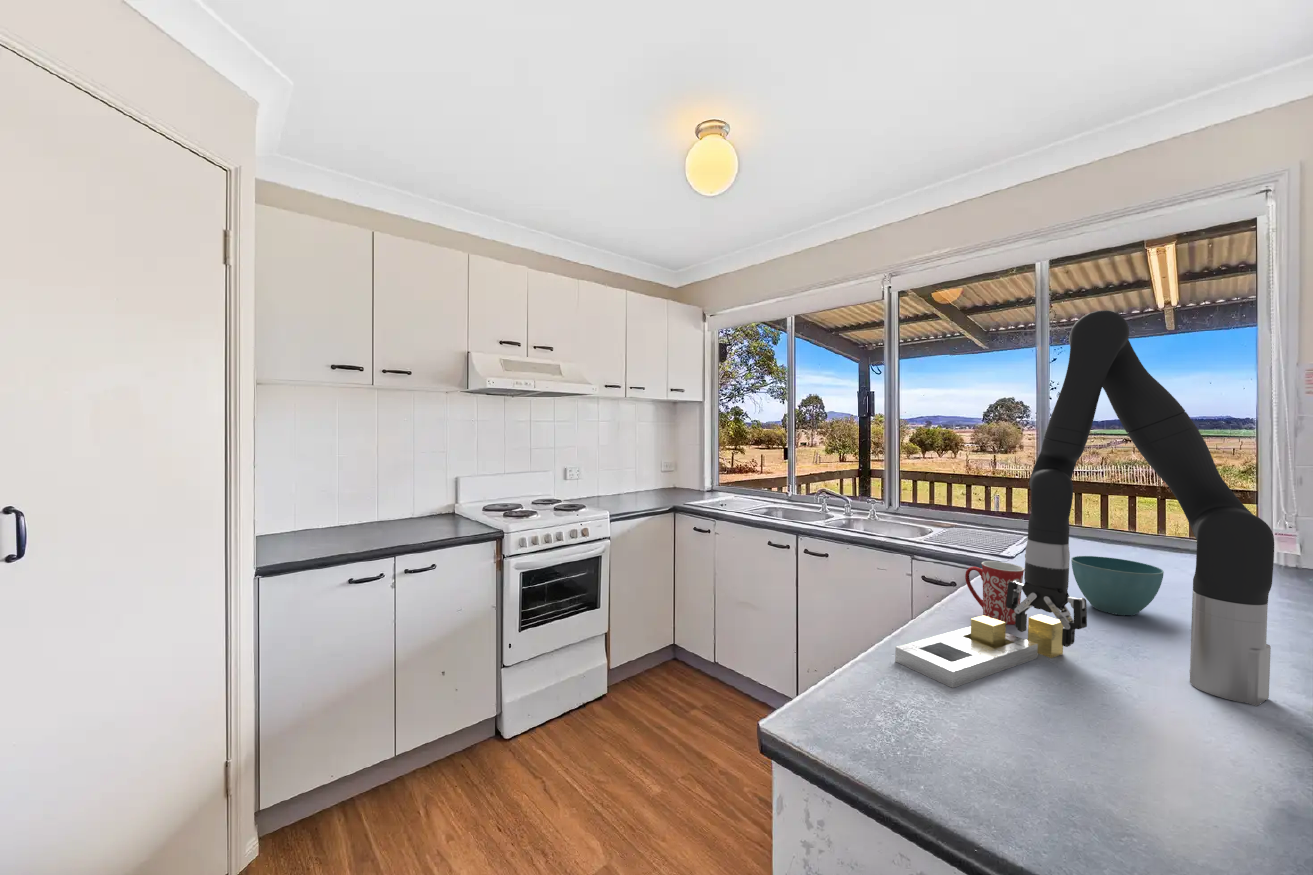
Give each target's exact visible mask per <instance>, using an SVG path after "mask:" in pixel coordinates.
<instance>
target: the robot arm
mask: <svg viewBox="0 0 1313 875" xmlns="http://www.w3.org/2000/svg"><path fill="white" fill-rule="evenodd" d="M1129 336H1130V327H1129V324H1128V321H1127V320H1126V319H1125V317H1123V316H1122V315H1121V314H1119V313H1117V312H1115V311H1112V310H1095V311H1091V312H1089V313H1087V314H1085V315H1083V316H1082V317H1081V318H1079V319H1078V320H1077V321H1076V322H1075V323H1074V324H1073V326H1072V327H1071V330H1070V332H1069V338H1068V340H1069V347H1070V348H1069V349H1070V350H1069V358H1068V363H1067V369H1066V374H1065V376H1064V380H1063V383H1062V387H1061V390H1060V392H1059V395H1058V398H1057V400H1056V403H1055V405H1054V408H1053V410H1052V413H1051V416H1050V418H1049V421H1048V425H1047V427H1046V431H1045V434H1044V436H1043V439H1042V444H1041V450H1040V453H1039V455H1038V457H1037V459H1036V462H1035V463H1034V465H1033V469H1032V472H1031V475H1030V477H1029V482H1028V483H1029V484H1028V485H1029V488H1030V494H1031V496H1030V497H1031V498H1030V500H1031V501H1030V506H1031V507H1030V509H1031V510H1030V515H1029V518H1028V522H1027V523H1028V524H1027V526H1028V527H1027V540H1026V541H1027V542H1026V545H1025V553H1024V559H1025V560H1024V569H1025V570H1024V574H1023V580H1024V584H1023V583H1022V584H1021V583H1020V582H1019V581H1012V582H1009V583H1008V590H1007V599H1006V607H1007V608H1011V609H1012V610H1014V611H1015V613H1016V617H1015V624H1014V625H1015V628H1016V629H1017V631H1018V632H1021V633H1023V632H1026V631H1027V627H1028V622H1027V621H1028V613H1026V612H1027V611H1028V610H1030V608H1032V607H1033V609H1037V610H1042V611H1044V612H1046V613H1048V614H1051V613H1053V615H1054V616H1055V619H1058V620H1060V622H1061V623H1062V625H1063V626H1064V628H1063V631H1062V646H1063V647H1065V648H1068V647H1070V646H1072V645H1074V644H1075V641H1076V640H1075V637H1076V630H1081V629H1084V628H1087V627H1088V611H1087V606H1088V605H1087V604H1088V603H1087V599H1086V597H1080V598H1079V597H1078V598H1077V597H1073V596H1070V594H1069V592H1068V590H1069V582H1070V581H1069V578H1070V557H1071V556H1070V554H1071V552H1070V544H1069V542H1070V516H1071V511H1072V505H1073V499H1074V484H1073V481H1072V478H1073V474H1074V470H1075V468H1076V466H1077V465H1076V464H1077V462H1078V461H1079V459H1080V458H1081V457H1082V455H1083V453H1084V451H1085V447H1086V446H1087V443H1088V442H1087V441H1088V439H1089V436H1090V432H1091V429H1092V427H1093V423H1094V418H1095V414H1096V412H1097V406H1098V403H1099V398H1100V395H1101V392H1102V389H1103V390H1104V393H1105V394H1106V396H1107V399H1108V401H1109V403H1110V404H1111V407H1112V409H1113V410H1114V413H1115V415H1116V416H1117V418H1118V420H1119V422H1120V423H1121V425H1122V427H1123V429H1124V431H1125V432H1126V434H1127V436H1128V437H1129V438H1130V440H1131V442H1132V443H1133V445H1134V446H1135V448H1136V449H1137V450H1138V452H1139V453H1140V454H1141V456H1142V457H1143V458H1144V459H1145V461H1146V462H1147V464H1148V465H1149V467H1151V468H1152V470H1153V471H1154V472H1155V473H1156V474H1157V475H1158V477H1159V478H1160V479H1161V480H1162V481H1163V483H1165V484H1166V485H1167V487H1168V488H1169V490H1170V491H1171V493H1172V494H1173V495H1174V497H1175V498H1176V500H1177V501H1178V504H1179V506H1180V508H1181V509H1182V512H1183V513H1184V516H1185V517H1186V519H1187V521H1188V524H1189V526H1190V528H1191V530H1192V533H1193V536H1194V538H1195V540H1196V556H1195V557H1196V558H1195V559H1196V560H1195V570H1194V576H1193V578H1192V598H1191V599H1192V603H1191V631H1190V634H1191V635H1190V657H1189V658H1190V659H1189V661H1190V662H1189V683H1190V684H1191V685H1192V686H1193V687H1194V688H1196V689H1198V690H1199V691H1202V692H1204V693H1206V694H1209V695H1212V696H1216V697H1218V698H1222V699H1225V700H1230V701H1234V702H1238V703H1244V702H1246V704H1248V703H1249V705H1253V706H1255V707H1258V706H1259V704H1260V703H1261V704H1263V703H1264V702H1266V701H1267V700H1269V699H1270V679H1271V677H1270V676H1271V675H1270V674H1271V652H1272V651H1271V649H1272V646H1271V645H1270V644H1269V643H1267V640H1268V639H1267V638H1268V637H1267V633H1268V630H1267V629H1268V609H1269V608H1268V607H1269V605H1268V604H1269V595H1270V591H1271V590H1272V586H1273V578H1274V576H1273V575H1274V560H1275V536H1274V533H1273V531H1272V528H1271V527H1270V526H1269V525H1268V523H1267V522H1266V521H1264V520H1263V519H1262V518H1261V517H1259V516H1257V515H1255V514H1254V513H1252V511H1250V510H1249V509H1248V508H1247V507H1246V505H1244V504H1243V502H1242V501H1241V500H1240V499H1239V498H1238V497H1237V496H1236V495H1235V494H1236V493H1234V492H1233V491H1232V489H1231V488H1230V486H1228V484H1227V483H1226V482H1225V481H1224V479H1223V478H1222V476H1221V475H1220V472H1219V470H1218V468H1217V466H1216V463H1215V461H1214V459H1213V456H1212V454H1211V452H1210V449H1209V447H1208V445H1207V443H1206V441H1205V439H1204V437H1203V436H1202V434H1201V432H1200V430H1199V429H1198V427H1197V426H1196V424H1195V423H1194V421H1193V420H1192V418H1191V417H1190V416H1189V414H1188V413H1187V411H1186V410H1185V408H1184V407H1183V406H1182V404H1181V403H1180V402H1179V401H1178V400H1177V399H1176V398H1175V397H1174V395H1172V394H1171V392H1169V391H1168V389H1166V388H1165V387H1164V386H1163V385H1162V384H1161V383H1160V382H1159V381H1158V380H1156V379H1155V377H1153V376H1152V375H1151V374H1150V373H1149V371H1148V370H1147V369H1146V368H1145V366H1144V365H1143V364H1142V362H1141V360H1140V358H1139V357H1138V355H1137V353H1136V352H1135V350H1134V348H1133V345H1132V344H1131V341H1130V340H1129ZM1019 592H1021V593H1022V592H1023V594H1024V595H1025V599H1023V600H1022V601H1020V605H1018V598H1019ZM1068 603H1069V605H1070V607H1071V608H1072V609H1073V617H1072V616H1071V615H1072V614H1071V612H1070V610H1069V609H1068V607H1067V606H1066V605H1067V604H1068ZM1268 698H1269V699H1268ZM1265 700H1266V701H1265ZM1262 702H1263V703H1262ZM1261 704H1260V705H1261Z"/></svg>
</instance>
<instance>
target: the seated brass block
mask: <svg viewBox="0 0 1313 875" xmlns="http://www.w3.org/2000/svg"><path fill="white" fill-rule="evenodd" d="M970 626H971V640H973V641H976V642H979V643H981V644H984V645H987V646H990V647H992V648H995V649H996V648H999V647H1002V646H1005V633H1007V632H1006V631H1007V630H1006V629H1007V627H1006V622H1003V621H1000V620H997V619H994V618H990V617H987V616H984V615H983V614H982V615H980V616H976V617H972V618H970Z"/></svg>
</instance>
